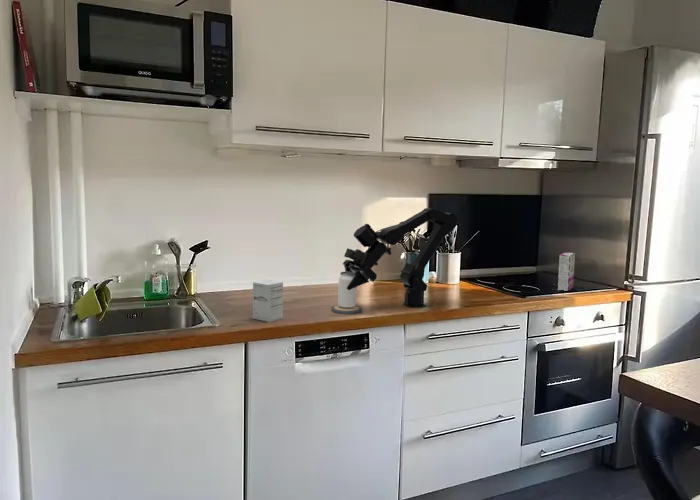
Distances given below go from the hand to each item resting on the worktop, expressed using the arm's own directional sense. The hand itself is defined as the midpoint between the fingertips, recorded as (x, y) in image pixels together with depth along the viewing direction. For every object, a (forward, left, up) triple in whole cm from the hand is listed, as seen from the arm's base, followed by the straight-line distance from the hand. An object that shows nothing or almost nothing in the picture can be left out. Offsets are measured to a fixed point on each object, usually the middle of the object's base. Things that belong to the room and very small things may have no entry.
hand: (344, 287), depth 204 cm
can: (-1, 0, -7) cm, 7 cm away
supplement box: (+29, +3, -9) cm, 30 cm away
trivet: (-1, 0, -8) cm, 9 cm away
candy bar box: (-110, -7, -9) cm, 111 cm away
